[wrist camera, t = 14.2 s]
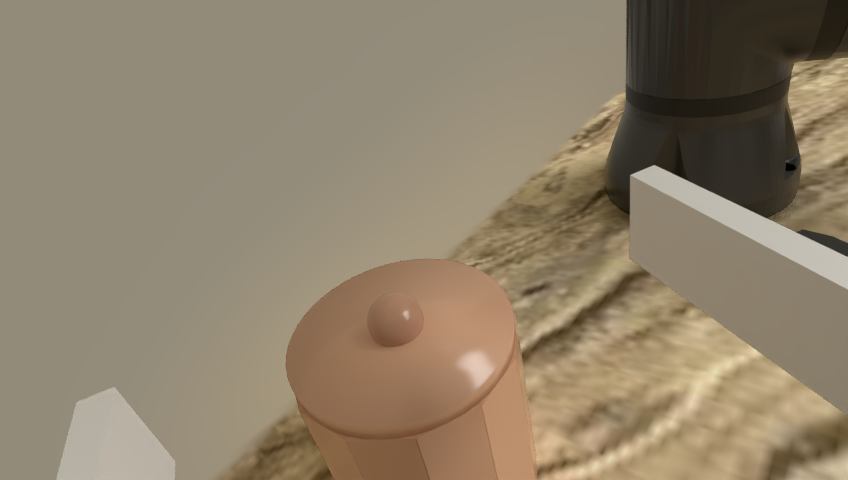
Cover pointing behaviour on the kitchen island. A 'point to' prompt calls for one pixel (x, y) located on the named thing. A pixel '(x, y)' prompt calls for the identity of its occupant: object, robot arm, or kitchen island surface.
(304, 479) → the kitchen island surface
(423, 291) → the lidded canister
